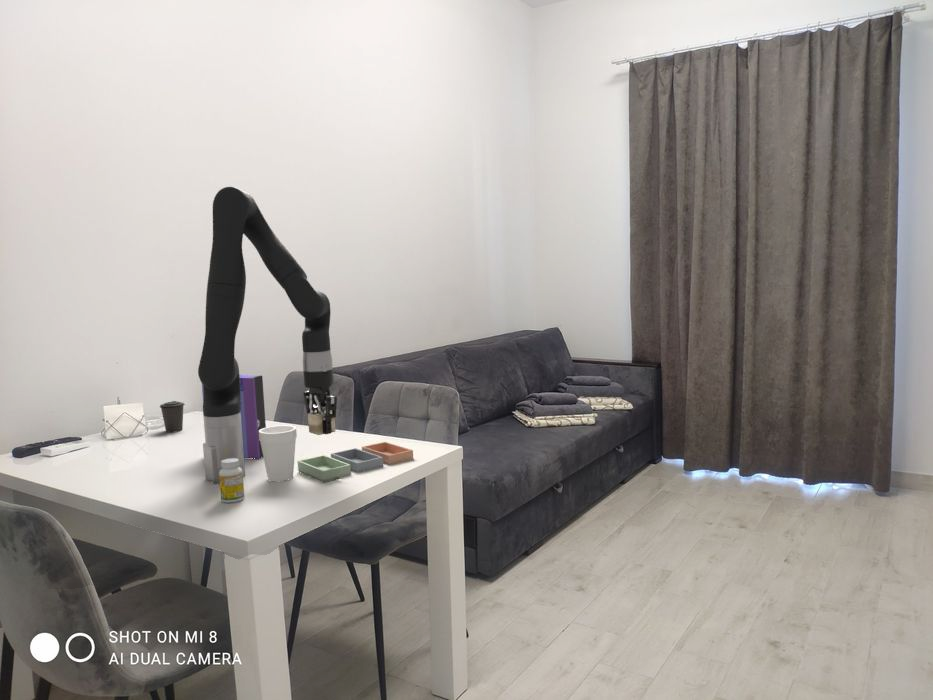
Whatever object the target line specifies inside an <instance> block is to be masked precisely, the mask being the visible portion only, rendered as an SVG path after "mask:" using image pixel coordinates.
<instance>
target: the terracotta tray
mask: <svg viewBox="0 0 933 700" xmlns="http://www.w3.org/2000/svg"><path fill="white" fill-rule="evenodd" d="M361 450H363V451H366V452H369V453H372V454H375V455H378V456H381V457H383V464H387V465H393V464H397V463H400V462H401V463H402V462H405V461H409V460H414V451H413V450H414V449H410V448H407V447H404V446H401V445H397V444H394V443H390V442H388V441H383V442H378V443H377V442H376V443H374V444H373V443H372V444H368V445H364V446H361Z"/></svg>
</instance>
